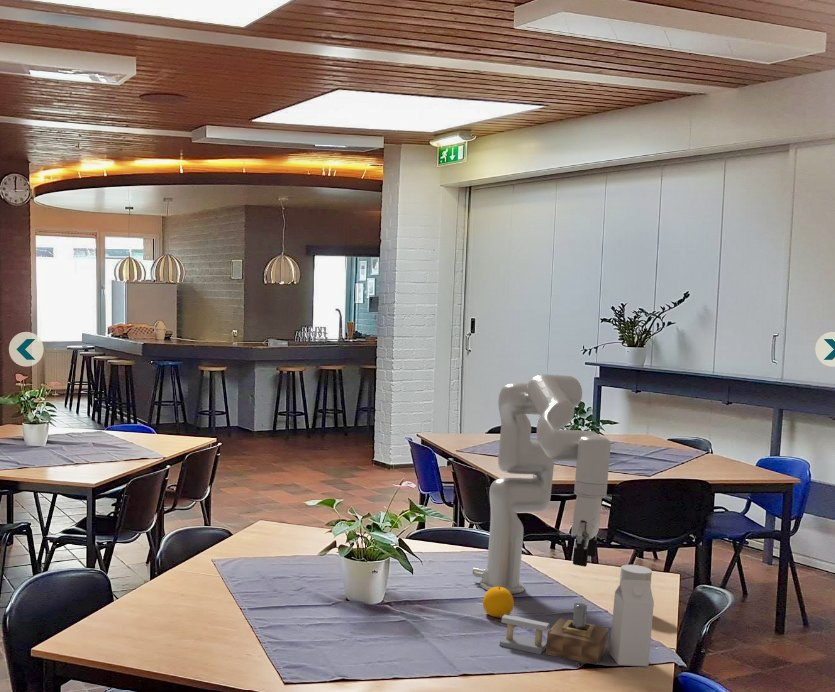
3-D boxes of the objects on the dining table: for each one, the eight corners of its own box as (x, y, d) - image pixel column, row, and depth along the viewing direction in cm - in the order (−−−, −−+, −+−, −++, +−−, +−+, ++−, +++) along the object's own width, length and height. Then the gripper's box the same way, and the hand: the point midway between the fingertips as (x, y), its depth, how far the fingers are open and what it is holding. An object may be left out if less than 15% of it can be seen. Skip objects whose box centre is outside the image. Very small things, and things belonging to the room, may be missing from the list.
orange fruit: (515, 613, 248) (518, 585, 248) (508, 622, 240) (511, 593, 240) (486, 608, 251) (488, 580, 250) (478, 617, 243) (480, 588, 243)
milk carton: (609, 654, 223) (616, 575, 222) (638, 655, 224) (645, 576, 223) (618, 665, 216) (625, 584, 215) (648, 667, 217) (655, 585, 216)
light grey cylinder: (648, 619, 251) (652, 575, 251) (617, 615, 253) (621, 571, 253) (647, 610, 259) (651, 567, 259) (617, 606, 261) (620, 563, 260)
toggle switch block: (545, 653, 220) (547, 628, 220) (557, 638, 231) (559, 614, 231) (597, 664, 216) (599, 639, 216) (606, 648, 227) (609, 623, 227)
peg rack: (497, 645, 224) (499, 619, 223) (504, 637, 229) (506, 612, 229) (542, 654, 220) (544, 628, 219) (549, 646, 225) (551, 621, 225)
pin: (569, 647, 223) (572, 605, 222) (572, 643, 226) (575, 602, 225) (581, 650, 222) (585, 608, 221) (584, 646, 225) (588, 604, 224)
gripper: (582, 480, 231) (576, 549, 232) (566, 492, 215) (559, 566, 216) (613, 485, 228) (606, 554, 229) (599, 497, 212) (592, 572, 213)
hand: (584, 560), depth 223 cm, fingers open, 9 cm apart
